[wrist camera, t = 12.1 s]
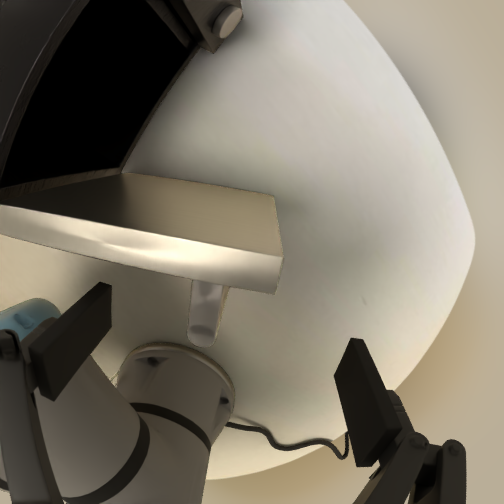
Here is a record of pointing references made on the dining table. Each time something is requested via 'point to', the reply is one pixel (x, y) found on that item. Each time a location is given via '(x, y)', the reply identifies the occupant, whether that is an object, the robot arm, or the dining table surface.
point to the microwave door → (161, 234)
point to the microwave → (91, 80)
